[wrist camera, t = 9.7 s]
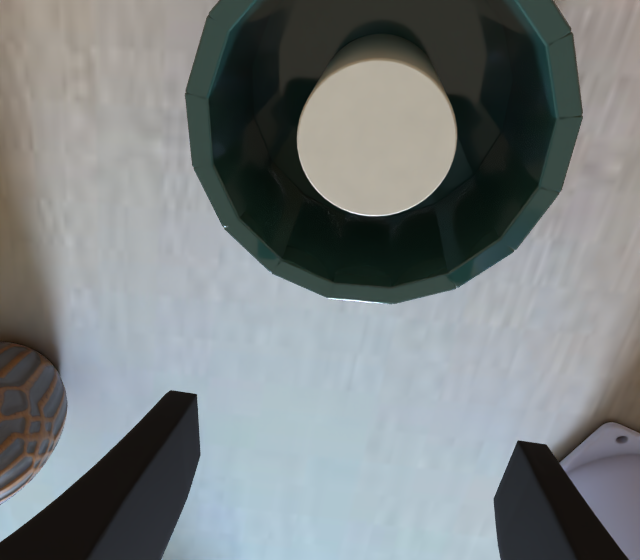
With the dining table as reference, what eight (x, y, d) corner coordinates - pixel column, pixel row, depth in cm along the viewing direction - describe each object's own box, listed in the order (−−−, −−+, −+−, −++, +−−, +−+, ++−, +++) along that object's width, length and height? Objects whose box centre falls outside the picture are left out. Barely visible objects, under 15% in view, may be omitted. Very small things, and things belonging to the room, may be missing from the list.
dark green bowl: (591, 19, 16) (677, 42, 11) (428, 262, 21) (440, 348, 16) (305, -141, 14) (266, -191, 10) (204, 158, 19) (147, 219, 15)
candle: (463, 69, 16) (490, 105, 12) (401, 177, 18) (406, 240, 14) (350, 9, 16) (337, 26, 12) (300, 127, 18) (273, 178, 14)
